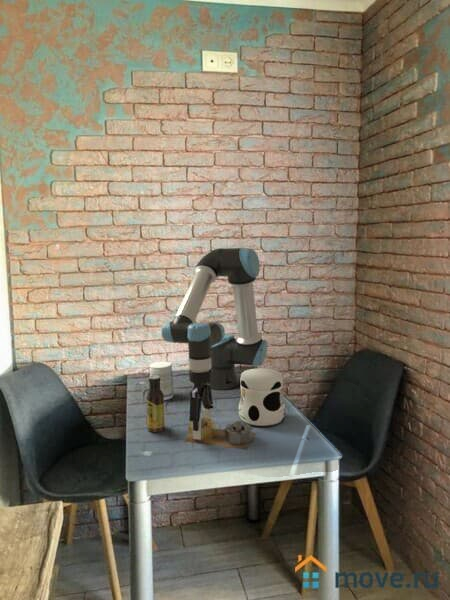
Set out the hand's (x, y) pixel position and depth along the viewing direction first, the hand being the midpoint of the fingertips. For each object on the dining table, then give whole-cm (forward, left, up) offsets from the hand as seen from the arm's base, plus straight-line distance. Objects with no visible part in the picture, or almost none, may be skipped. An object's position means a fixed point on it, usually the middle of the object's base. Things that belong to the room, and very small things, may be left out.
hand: (202, 432), depth 156 cm
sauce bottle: (-2, -19, -2) cm, 19 cm away
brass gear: (0, 0, -1) cm, 1 cm away
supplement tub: (-32, -31, -2) cm, 44 cm away
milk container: (-19, +16, -2) cm, 25 cm away
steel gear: (0, +13, -1) cm, 13 cm away
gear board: (0, +6, -2) cm, 7 cm away
